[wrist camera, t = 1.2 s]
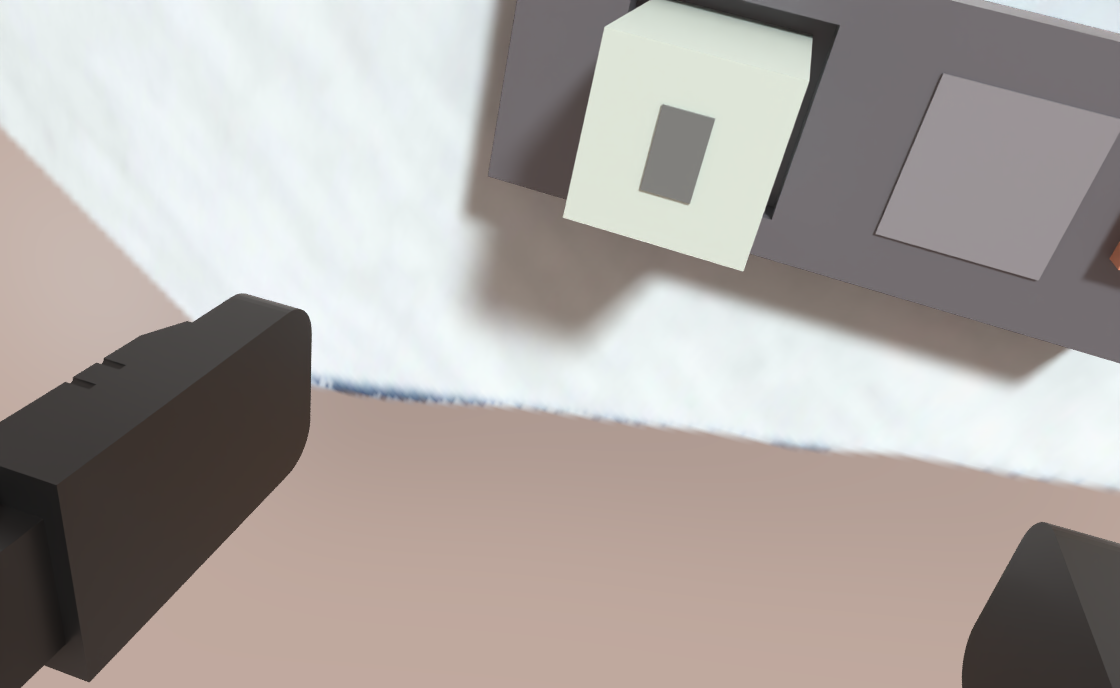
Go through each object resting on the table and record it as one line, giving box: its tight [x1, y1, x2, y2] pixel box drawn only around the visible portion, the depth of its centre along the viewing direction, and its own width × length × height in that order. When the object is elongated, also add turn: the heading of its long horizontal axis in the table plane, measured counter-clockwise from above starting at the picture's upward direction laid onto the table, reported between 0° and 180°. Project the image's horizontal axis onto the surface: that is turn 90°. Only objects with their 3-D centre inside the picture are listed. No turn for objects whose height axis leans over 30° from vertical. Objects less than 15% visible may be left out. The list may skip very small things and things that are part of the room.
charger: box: [563, 0, 813, 271], centre depth 22 cm, size 4×4×7 cm
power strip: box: [488, 0, 1120, 363], centre depth 24 cm, size 30×8×4 cm, turn 78°
